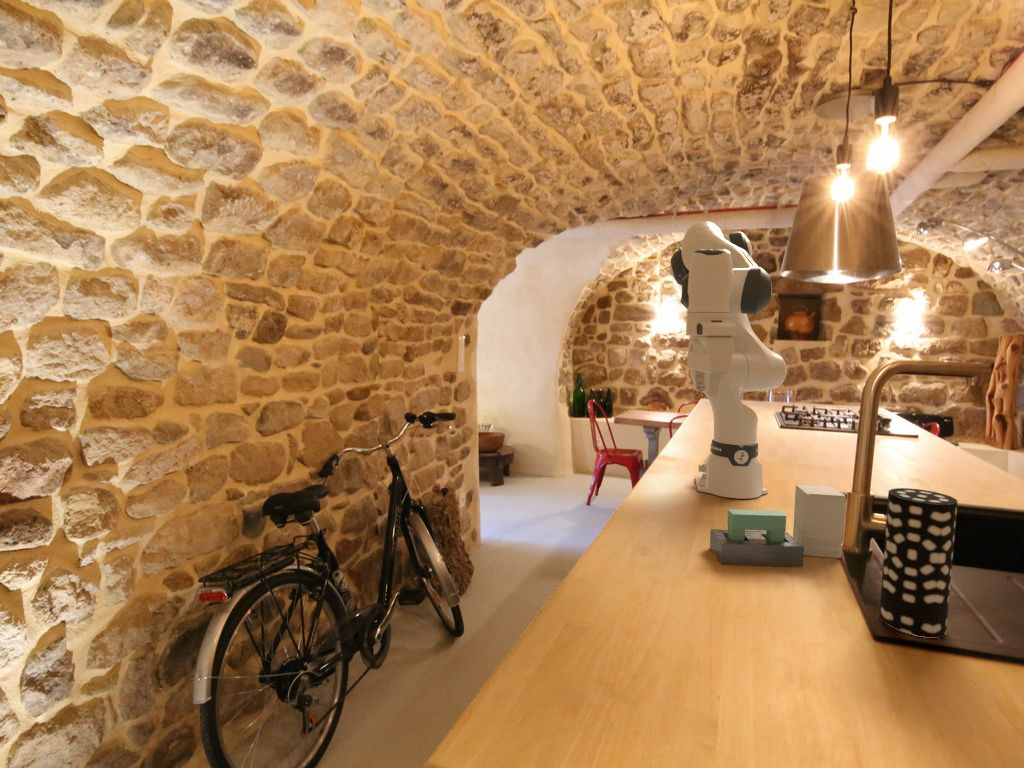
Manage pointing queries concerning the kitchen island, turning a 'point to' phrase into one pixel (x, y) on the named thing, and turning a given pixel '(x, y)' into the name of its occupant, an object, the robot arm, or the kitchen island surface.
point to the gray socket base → (756, 549)
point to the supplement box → (819, 520)
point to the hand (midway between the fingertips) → (705, 393)
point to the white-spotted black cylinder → (918, 561)
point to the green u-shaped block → (756, 524)
